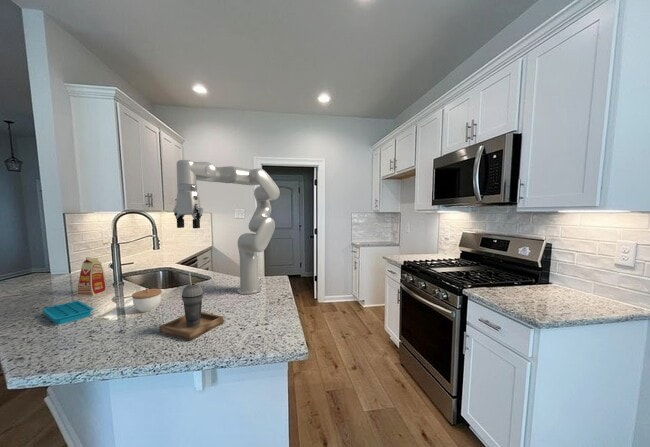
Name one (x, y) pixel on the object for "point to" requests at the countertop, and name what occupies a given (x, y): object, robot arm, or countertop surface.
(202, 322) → the walnut tray
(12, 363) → the countertop surface
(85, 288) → the milk carton
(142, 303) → the lidded jar
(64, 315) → the ice cube tray
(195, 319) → the beverage cup
